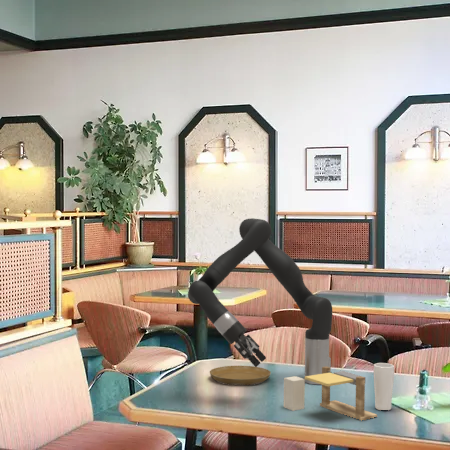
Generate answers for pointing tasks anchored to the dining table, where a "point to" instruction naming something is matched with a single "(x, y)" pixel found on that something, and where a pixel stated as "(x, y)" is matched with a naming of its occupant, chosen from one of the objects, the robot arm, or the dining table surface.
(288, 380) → the white square pillar
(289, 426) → the dining table surface
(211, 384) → the dining table surface
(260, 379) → the plant saucer
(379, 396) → the drinking glass
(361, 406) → the frame
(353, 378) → the trapdoor
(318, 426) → the dining table surface
